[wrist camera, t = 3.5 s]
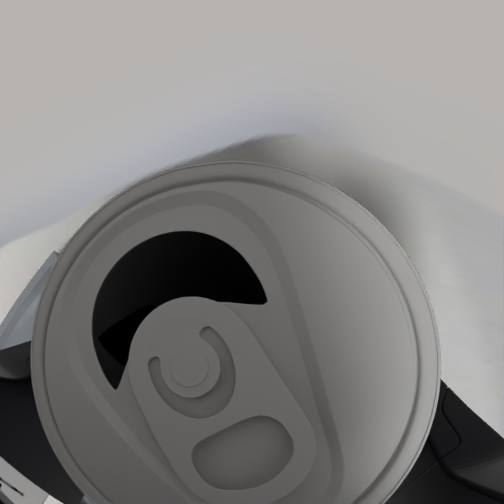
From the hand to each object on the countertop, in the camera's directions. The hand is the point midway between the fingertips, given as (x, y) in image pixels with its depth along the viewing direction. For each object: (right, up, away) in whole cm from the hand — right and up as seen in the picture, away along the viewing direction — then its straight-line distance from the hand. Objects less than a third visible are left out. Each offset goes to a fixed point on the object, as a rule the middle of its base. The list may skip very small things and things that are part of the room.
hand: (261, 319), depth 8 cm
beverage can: (+1, -4, +6) cm, 7 cm away
